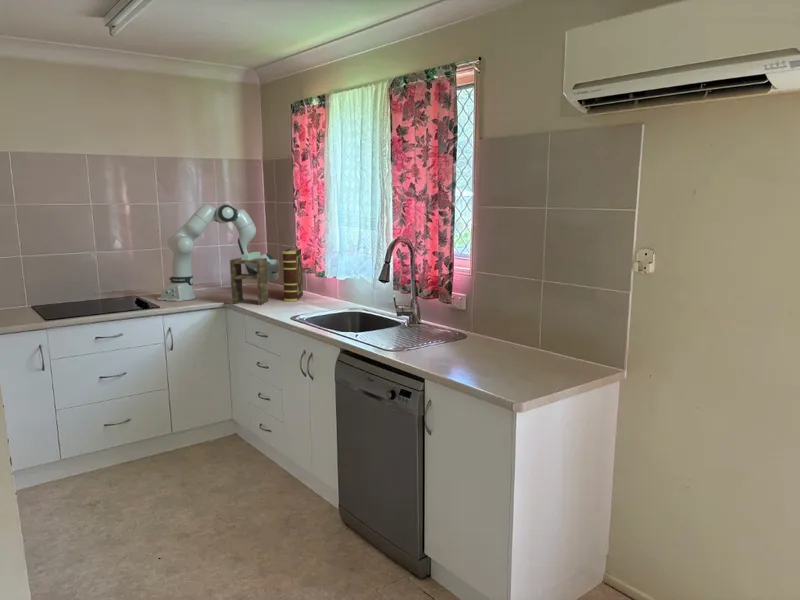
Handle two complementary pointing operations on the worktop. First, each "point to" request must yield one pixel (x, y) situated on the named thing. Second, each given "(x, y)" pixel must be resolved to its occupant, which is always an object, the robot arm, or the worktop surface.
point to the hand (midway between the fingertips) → (258, 258)
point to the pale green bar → (250, 256)
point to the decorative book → (292, 275)
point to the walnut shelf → (238, 276)
